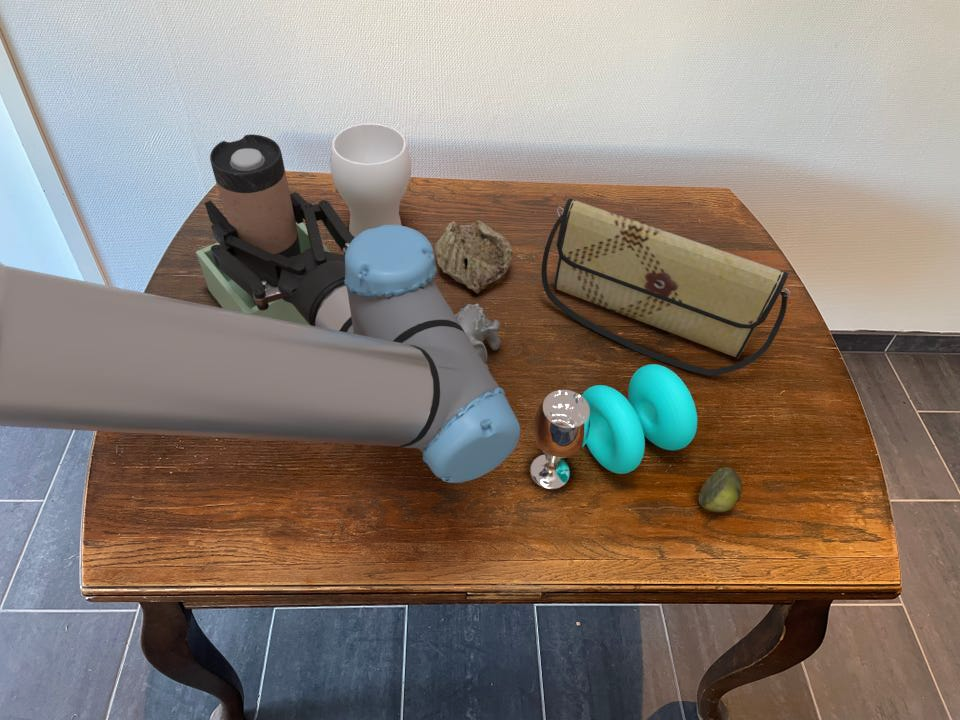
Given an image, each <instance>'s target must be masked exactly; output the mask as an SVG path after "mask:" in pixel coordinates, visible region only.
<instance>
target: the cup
mask: <svg viewBox="0 0 960 720" xmlns="http://www.w3.org/2000/svg"><path fill="white" fill-rule="evenodd" d="M330 147H331V148H330V153H329V156H330V157H329V166H330V174H331V179H332V181H333V183H334V186H335V187H336V190H337V192H338V194H339V196H340V197H341V198H342V199H343V201H344V202H345V204H347V207H348V211H349V214H350V216H349V224H348V225H349V226H348V230H349V231H350V233H351V234H352V236H354V237H356V236H357V235H359V234H360V233H362V232H363V231H365V230H368V229H370V228H375V227H380V226H382V225H401V226H403V225H402V220H401V217H400V213H399V212H400V204H401V201H402V199H403V198H404V196H405V195H406V193H407V189H408V186H409V183H410V180H411V176H412V159H411V153H410V151H409V150H410V149H409V147H408V144H407V140H406V139H405V136H404V135H403V134H402V133H401V132H400V131H399V130H397V129H396V128H394V127H391V126H389V125H387V124H382V123H374V122H368V123H367V122H364V123H357V124H353V125H350V126H347V127H345V128H343V129H341V130H340V131H339V132H338V133H336V135H335V136H334V137H333V139H332V142H331V146H330Z"/></svg>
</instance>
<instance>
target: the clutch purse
mask: <svg viewBox="0 0 960 720" xmlns="http://www.w3.org/2000/svg"><path fill="white" fill-rule="evenodd" d="M559 209H561V211H562V212H561V214H560V212H559ZM556 212H557V215H558V218H557V220H556V221H555V223H554V225H553V226H552V228H551V230H550V233H549V236H548V238H547V241H546V244H545V247H544V250H543V255H542V261H541V282H542V287H543V289H544V293H545V295H546V296H547V298H548V299H549V300H550V301H551V302H552V304H553V305H555V307H557V308H558V309H560V310H561V311H562V312H563V313H565V314H566V315H568V316H569V317H570V318H572V319H574V320H575V321H576V322H578V323H579V324H581V325H583V326H585V327H586V328H588V329H590V330H591V331H594V332H596V333H598V334H599V335H602V336H604V337H606V338H608V339H610V340H612V341H614V342H616V343H618V344H620V345H622V346H624V347H626V348H629V349H630V350H633V351H634V352H637V353H639V354H641V355H644V356H646V357H649V358H651V359H654V360H657V361H658V362H659V361H660V362H662V363H665V364H668V365H670V366H674V367H675V368H679V369H682V370H684V371H685V370H686V371H688V372H691V373H696V374H700V375H704V376H711V377H712V376H720V375H721V376H722V375H725V374H728V373H731V372H735V371H736V370H739V369H742V368H744V367H746V366H749V365H750V364H752V363H754V362H755V361H756V360H758V359H759V358H760V357H761V356H763V355H764V354H765V353H766V352H767V351H768V350H769V348H770V347H771V346H772V344H773V342H774V340H775V338H776V336H777V334H778V332H779V330H780V328H781V325H782V323H783V321H784V318H785V315H786V311H787V307H788V299H789V296H791V292H790V290H789V288H787V287H784V286H785V284H786V282H787V279H788V277H789V273H788V272H786V271H783V270H780V269H777V268H774V267H771V266H768V265H765V264H762V263H759V262H757V261H754V260H750V259H747V258H745V257H743V256H740V255H736V254H733V253H731V252H728V251H724V250H722V249H718V248H716V247H713V246H710V245H707V244H704V243H701V242H698V241H696V240H692V239H689V238H687V237H684V236H680V235H678V234H675V233H672V232H669V231H666V230H663V229H660V228H658V227H654V226H652V225H649V224H646V223H643V222H640V221H637V220H634V219H631V218H628V217H625V216H622V215H619V214H617V213H614V212H610V211H608V210H606V209H602V208H599V207H597V206H593V205H591V204H588V203H584V202H582V201H580V200H576V199H574V198H571V197H570V198H568V199H567V200H566V202H565V205H564V208H563V207H562V206H559V205H558V206H557V208H556ZM557 231H558V235H557V239H556V240H557V241H556V248H557V253H558V260H557V265H556V270H555V276H554V283H553V289H554V291H560V292H563V293H565V294H568V295H570V296H573V297H575V298H579V299H581V300H584V301H586V302H588V303H592V304H594V305H597V306H600V307H602V308H605V309H607V310H610V311H612V312H614V313H618V314H620V315H623V316H626V317H629V318H630V319H634V320H636V321H639V322H641V323H643V324H647V325H649V326H651V327H653V328H657V329H660V330H663V331H665V332H668V333H670V334H673V335H675V336H678V337H681V338H683V339H686V340H689V341H691V342H694V343H697V344H699V345H702V346H704V347H706V348H709V349H713V350H715V351H717V352H720V353H723V354H726V355H728V356H730V357H733V358H734V359H735V360H738V359H739V358H740V356H741V355H742V353H743V352H744V350H745V348H746V346H747V344H748V343H749V341H750V339H751V337H752V335H753V333H754V331H755V330H756V328H757V327H758V326H760V325H761V324H763V323H764V322H765V321H766V319H767V318H768V316H769V314H770V312H771V311H772V310H773V307H774V306H775V303H776V302H777V300H778V298H779V296H780V295H781V304H780V310H779V312H778V315H777V318H776V321H775V323H774V325H773V327H772V328H771V331H770V333H769V335H768V337H767V339H766V341H764V344H763V345H762V346H761V347H760V348H759V349H758V350H757V351H755V352H754V353H753V354H751V355H750V356H748V357H747V358H745V359H743V360H741V361H739V362H737V363H734V364H731V365H728V366H725V367H720V368H719V367H718V368H705V367H701V366H697V365H693V364H690V363H687V362H684V361H681V360H678V359H676V358H672V357H670V356H666V355H663V354H661V353H658V352H656V351H653V350H650V349H649V348H646V347H643V346H641V345H638V344H637V343H634V342H632V341H629V340H628V339H626V338H624V337H622V336H620V335H619V334H615V333H614V332H612V331H610V330H608V329H605V328H603V327H602V326H600V325H597V324H596V323H594V322H592V321H590V320H589V319H586V318H585V317H584V316H582V315H580V314H579V313H577V312H576V311H574V310H573V309H571V308H570V307H568V306H567V305H566V304H565V303H564V302H562V301H561V300H559V299H558V297H557V296H556V295H555V294H554V293H553V290H552V289H551V287H550V284H549V281H548V260H549V253H550V250H551V246H552V244H553V240H554V238H555V235H556V233H557ZM786 291H787V292H788V293H787V292H786Z"/></svg>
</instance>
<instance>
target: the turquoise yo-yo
mask: <svg viewBox="0 0 960 720" xmlns="http://www.w3.org/2000/svg"><path fill="white" fill-rule="evenodd" d="M581 396H582V397H583V398H584V399H585V400H586V401H587V403H588V405H589V409H590V416H591V426H590V434H589V437H588V440H587V442H586V444H585V445H586V446H587V448H588V450H589V452H590V453H591V454H592V456H593V457H594V459H595V460H596V461H597V462H598V463H599V464H600V465H601V466H602V467H603V468H605V469H606V470H607V471H610V472H611V473H615V474H620V475H623V474H629V473H632V472H633V471H634V470H636V469H637V468H638V467H639V466H640V464H641V462H642V460H643V458H644V455H645V449H646V439H647V440H648V441H649V442H650V443H652V444H653V445H655V446H656V447H658V448H660V449H663V450H667V451H679V450H682V449H684V448H686V447H688V446H689V445H690V444H691V443H692V441H693V440H694V438H695V437H696V434H697V430H698V429H697V428H698V413H697V408H696V403H695V401H694V399H693V396H692V394H691V392H690V390H689V388H688V387H687V386H686V384H685V383H684V380H683V379H681V378H680V377H679V375H677V373H675V372H674V371H673V370H671V369H670V368H668V367H666V366H664V365H661V364H655V363H652V364H646V365H643V366H641V367H639V368H638V369H637V370H635V372H634V374H632V376H631V378H630V380H629V383H628V388H627V397H626V396H625V395H623V394H622V393H621V392H620V391H618V390H617V389H615V388H613V387H611V386H609V385H604V384H596V385H593V386H590V387H588V388H586V390H584V391H583V393H582V394H581Z"/></svg>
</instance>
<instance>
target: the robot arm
mask: <svg viewBox="0 0 960 720" xmlns="http://www.w3.org/2000/svg"><path fill="white" fill-rule="evenodd" d="M290 197H291V202H292V207H293V211H294V216H295V221H296V223H297V224H300V223H302V222H303V223H304V225H305V226H306V228H307V232H308V237H309V241H310V245H311V249H307V250H305V251H303V252H302V253H301V254H299V255H296V256H292V257H289V258H287V257H285V256H283V255H280V254H276V255H274V254H272V253H269V252H267V251H265V250H263V249H261V248H258V247H256V246H254V245H252V244H250V243H247V242H245V241H243V240H241V239H239V238H238V234H237V230H236V229H235V228H234V227H233V226H232V225H231V224H230V223H229V222H228V221H227V219H226V216H225V214H223V213H222V212H221V210H220V209H219V208H218V207H217V206H216V205H215V204H214V202H213V201H212V200H207V201H206V202H204V206H205V209H206V212H207V215H208V218H209V222H210V223H211V224H212V225H211V226H210V228H211V231H212V235H213V238H214V239H215V241H216V243H219V244H220V245H213V244H212V245H213V246H212V247H211V252H212V255H213V258H214V261H215V264H216V266H217V267H218V268H219V269H220V270H221V271H222V272H223V273H225V274H226V275H227V276H228V277H229V278H230V279H232V280H233V281H234V282H235V283H236V284H238V285H239V286H240V287H241V288H242V289H243V290H245V291H246V292H247V293H248V294H249V295H250V296H252V297H253V298H254V301H255V303H256V305H257V308H258V309H259V310H266V309H268V307H269V304H268V303H269V302H273V301H276V300H279V299H283V300H284V301H286V302H289V303H291V304H293V305H294V306H295V308H296V309H297V310H298V312H299V313H300V314H301V315H302V316H303V317H304V319H305V320H306V321H307V322H308V323H309V324H310V325H306V324H301V323H296V322H291V321H285V320H280V319H275V318H270V317H265V316H260V315H255V314H250V313H245V312H239V311H234V310H229V309H224V308H222V307H218V306H213V305H209V304H203V303H198V302H193V301H189V300H188V301H187V300H183V299H178V298H172V297H167V296H162V295H157V294H152V293H148V292H147V293H146V292H141V291H137V290H132V289H126V288H121V287H116V286H112V285H107V284H101V283H95V282H90V281H85V280H80V279H75V278H70V277H66V276H61V275H60V276H59V275H55V274H50V273H45V272H39V271H34V270H29V269H24V268H18V267H15V266H9V265H5V264H3V263H2V262H0V427H10V428H26V429H27V428H31V429H49V430H67V431H68V430H70V431H84V432H85V431H87V432H88V431H89V432H107V433H124V434H125V433H127V434H145V435H146V434H147V435H162V436H163V435H164V436H186V437H203V438H204V437H205V438H225V439H241V440H243V439H245V440H264V441H280V442H281V441H283V442H300V443H301V442H303V443H322V444H339V445H340V444H341V445H362V446H379V447H380V446H382V447H395V448H396V447H397V448H404V449H418V450H419V451H420V452H421V453H422V457H421V458H422V460H423V462H424V463H425V464H427V466H428V467H429V469H430V470H431V472H432V473H433V474H434V475H435V477H436V478H438V479H441V480H442V481H443V482H445V483H449V484H450V483H451V484H459V483H466V482H469V481H473V480H476V479H479V478H480V477H483V476H485V475H487V474H488V473H490V472H491V471H493V470H495V469H496V468H498V467H499V466H500V465H501V464H502V463H504V462H505V460H506V459H507V458H508V457H510V455H511V454H512V453H513V452H514V450H515V449H516V447H517V445H518V443H519V440H520V436H521V426H520V424H519V421H518V418H517V416H516V414H515V412H514V410H513V409H512V406H511V405H510V403H509V401H508V398H507V397H506V392H505V390H504V389H503V388H502V387H500V386H499V384H498V383H497V381H496V380H495V378H494V376H493V374H492V373H491V372H490V369H489V370H488V369H487V367H486V365H485V364H484V362H483V361H482V359H481V357H480V356H479V354H478V353H477V351H476V349H475V348H474V346H473V345H472V343H471V341H470V340H469V338H468V337H467V335H466V334H465V332H464V330H463V328H462V327H461V325H460V323H459V322H458V320H457V318H456V317H455V314H453V313H454V311H453V309H452V308H451V309H450V307H451V306H450V305H449V304H448V302H447V300H446V299H445V297H444V295H443V294H442V292H441V291H440V289H439V287H438V285H437V282H436V275H437V273H438V269H437V267H438V266H437V264H436V263H435V262H436V261H435V253H434V252H435V251H434V248H433V246H432V243H431V242H430V240H429V239H428V238H427V237H426V236H425V235H424V234H423V233H421V232H420V231H418V230H416V229H414V228H412V227H409V226H404V225H402V224H401V225H402V226H401V225H382V226H380V227H375V228H370V229H368V230H365V231H363V232H362V233H360V234H359V235H357V236H356V237H354V236H352V234H351V233H350V231H349V228H348V227H347V226H346V224H345V223H344V221H343V220H342V219H341V217H340V216H339V214H338V213H337V212H336V210H335V209H334V207H333V206H332V205H331V203H330V202H329V201H328V200H326V199H322V200H320V201H319V202H318V204H312V203H311V202H308V201H307V200H306V199H305V198H304V197H303V196H301V194H300V193H298V192H296V191H293V192H290ZM318 221H321V223H322V224H323V225H324V227H325V228H326V230H327V232H328V233H329V234H330V235H331V237H332V238H333V240H334V241H335V243H336V244H337V246H338V247H339V249H340V250H341V252H342V253H343V254H339V253H335V252H332V251H331V252H332V253H331V252H327V251H324V248H323V244H324V243H323V241H322V237H321V234H320V230H319V225H318ZM322 243H323V244H322ZM245 265H246V266H248V267H251V268H253V269H255V270H257V271H259V272H261V273H263V274H265V275H268V276H270V277H272V278H273V279H274V281H275V282H277V283H279V284H278V287H272V286H271V285H270V284H267V282H266V281H262V282H261V280H260V278H259V277H258V276H257V275H256V274H255V273H254V272H252V271H251V270H250V269H249V268H247V267H246V266H245ZM449 306H450V307H449ZM452 311H453V312H452Z"/></svg>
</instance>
